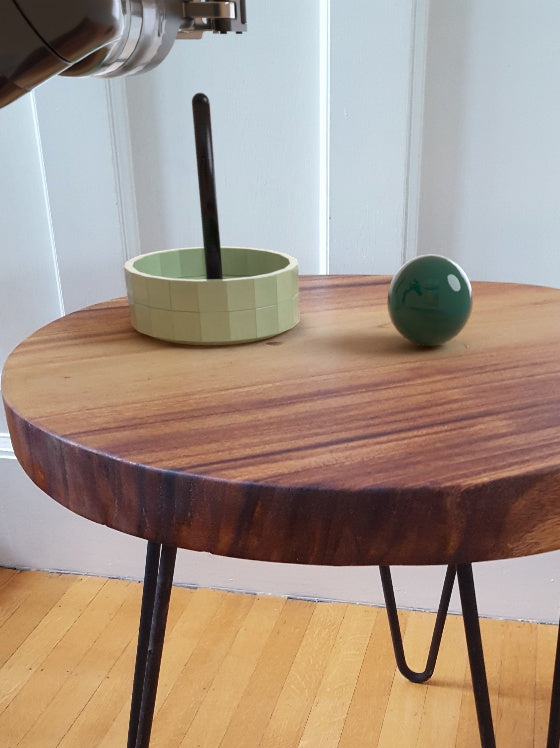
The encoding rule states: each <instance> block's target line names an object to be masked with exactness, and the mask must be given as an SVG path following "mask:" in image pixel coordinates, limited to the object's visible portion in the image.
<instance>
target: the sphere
mask: <svg viewBox="0 0 560 748" xmlns="http://www.w3.org/2000/svg"><path fill="white" fill-rule="evenodd" d="M473 305H474V296H473V290H472V285H471V282H470V279H469V277H468V275H467V274H466V272H465V270H463V268H462V267H461V266H460V265H459V264H458V263H457V262H455V261H454V260H452V259H451V258H449V257H446V256H444V255H440V254H433V253H432V254H431V253H430V254H421V255H418V256H416V257H413V258H412V259H409V260H408V261H407V262H405V263H404V264H403V265H402V266H400V268H399V269H398V270H397V271H396V272H395V274H394V275H393V277H392V279H391V282H390V284H389V287H388V292H387V312H388V316H389V319H390V322H391V324H392V325H393V327H394V329H395V330H396V331H397V332H398V333H399V334H400V335H401V336H402V337H403V338H404V339H405V340H407V341H409V342H410V343H412V344H415V345H417V346H422V347H437V346H438V347H439V346H441V345H444V344H447V343H448V342H450V341H452V340H453V339H455V338H456V337H457V336H458V335H459V334H461V332H462V331H463V330H464V329H465V327H466V326H467V324H468V322H469V320H470V318H471V315H472V311H473Z"/></svg>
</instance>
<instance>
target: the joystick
mask: <svg viewBox="0 0 560 748" xmlns="http://www.w3.org/2000/svg"><path fill="white" fill-rule="evenodd" d="M191 110H192V111H191V112H192V113H191V114H192V123H193V134H194V137H193V138H194V147H195V156H196V157H195V158H196V161H195V162H196V171H197V172H196V173H197V181H198V182H197V184H198V195H199V209H200V219H201V220H200V221H201V231H202V232H201V233H202V242H203V243H202V244H203V247H204V257H205V269H206V279H223V274H222V260H221V247H220V246H221V235H220V221H219V209H218V207H219V206H218V196H217V182H216V167H215V153H214V140H213V129H212V128H213V127H212V126H213V125H212V116H211V115H212V114H211V103H210V98H209V97H208V96H207V95H206V94H205V93H204V92H196V93H195V94H193V96H192V98H191Z"/></svg>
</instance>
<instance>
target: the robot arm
mask: <svg viewBox="0 0 560 748" xmlns="http://www.w3.org/2000/svg"><path fill="white" fill-rule="evenodd" d="M203 19H205V21H206V23H205V22H204V21H203ZM247 23H248V19H247V2H246V0H204V1H202V0H0V110H2V109H5V108H7V107H9V106H10V105H12V104H14V103H15V102H17V101H19V100H20V99H22V98H23V97H25V96H27V95H28V94H29V93H31V92H32V91H33V90H35V89H37V88H39V87H40V86H42V85H43V84H45V83H47V82H48V81H49V80H51V79H53V78H54V77H56V76H57V77H60V78H65V79H84V78H91V79H97V80H112V79H120V78H126V77H133V76H140V75H143V74H145V73H148V72H151V71H152V70H154V69H155V68H157V67H158V66H159V65H161V64H162V62H164V61H165V60H166V58H167V57H168V55H169V54H170V52H171V51H172V48H173V46H174V44H175V42H176V40H201V39H203V37H204V34H205V32H212V34H214V35H215V34H217V35H228V32H230V33H231V32H233V33H235V34H236V35H243V34H244V33H243V32H247V33H248V24H247Z"/></svg>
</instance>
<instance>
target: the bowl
mask: <svg viewBox="0 0 560 748" xmlns="http://www.w3.org/2000/svg"><path fill="white" fill-rule="evenodd" d="M220 247H221V260H222V274H223V279H206V269H205V257H204V246H193V247H192V246H191V247H179V248H178V247H177V248H171V249H164V250H157V251H152V252H147V253H143V254H140V255H136V256H135V257H132V258H131V259H128V260H127V261H126V262H125V264H124V266H123V272H124V279H125V286H126V287H125V288H126V295H127V302H128V310H129V319H130V325H131V326H132V327H133V328H134V329H135V330H136V331H137V332H139V333H141V334H144V335H147V336H150V337H152V338H154V339H157V340H160V341H164V342H167V343H174V344H181V345H190V346H191V345H192V346H230V345H239V344H240V345H241V344H247V343H254V342H259V341H263V340H266V339H270V338H273V337H276V336H278V335H280V334H282V333H283V332H286V331H288V330H291V329H292V328H294V327H295V326H297V324H298V323H300V322H301V311H300V310H301V309H300V307H301V306H300V282H299V281H300V279H299V277H300V276H299V263H298V259H297V258H296V257H294V256H291V255H289V254H288V253H285V252H281V251H278V250H277V251H276V250H272V249H266V248H256V247H247V246H244V247H242V246H223V245H222V246H221V245H220Z"/></svg>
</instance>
